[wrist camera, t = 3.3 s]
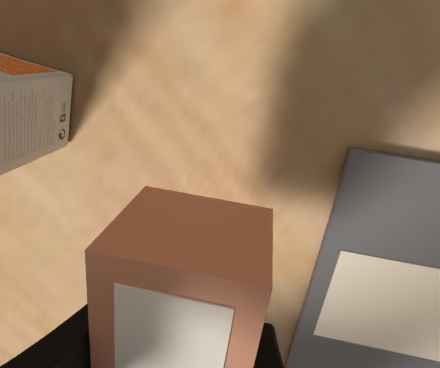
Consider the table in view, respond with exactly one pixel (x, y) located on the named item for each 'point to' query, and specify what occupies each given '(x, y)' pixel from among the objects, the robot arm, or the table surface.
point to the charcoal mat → (376, 270)
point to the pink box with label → (179, 283)
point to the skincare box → (32, 111)
